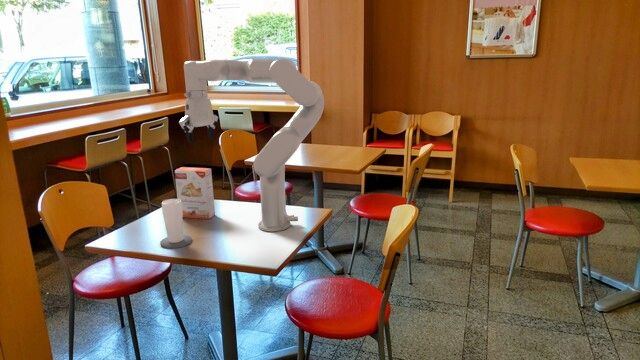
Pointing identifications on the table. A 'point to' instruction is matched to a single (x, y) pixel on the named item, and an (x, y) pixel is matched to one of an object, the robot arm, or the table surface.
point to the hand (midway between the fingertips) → (201, 140)
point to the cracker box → (195, 192)
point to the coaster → (184, 242)
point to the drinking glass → (173, 219)
